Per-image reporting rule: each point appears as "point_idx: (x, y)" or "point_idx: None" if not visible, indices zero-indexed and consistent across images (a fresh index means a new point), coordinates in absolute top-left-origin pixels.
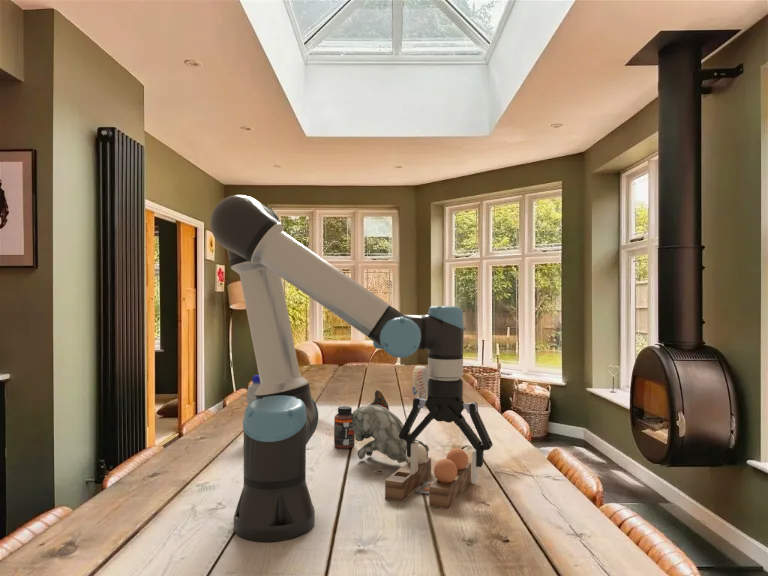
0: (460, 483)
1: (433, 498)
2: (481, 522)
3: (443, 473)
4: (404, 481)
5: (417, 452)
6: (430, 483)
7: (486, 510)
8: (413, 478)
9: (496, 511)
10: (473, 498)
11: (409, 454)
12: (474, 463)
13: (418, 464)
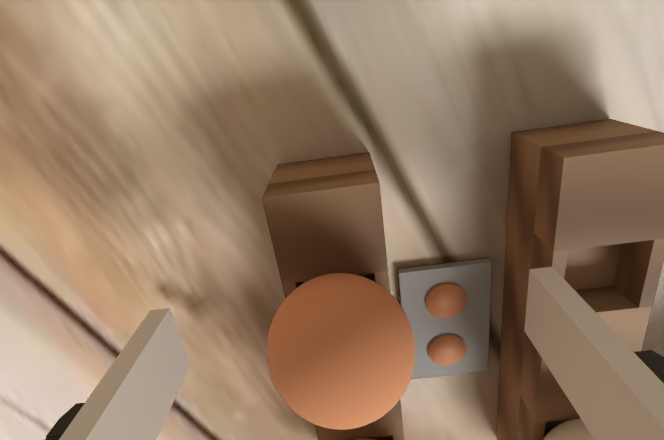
0: None
1: (348, 165)
2: (73, 106)
3: (320, 293)
4: (557, 192)
5: (593, 422)
6: (459, 355)
7: (136, 238)
8: None
9: (99, 248)
10: (245, 318)
11: (650, 367)
12: (89, 407)
13: (558, 425)
